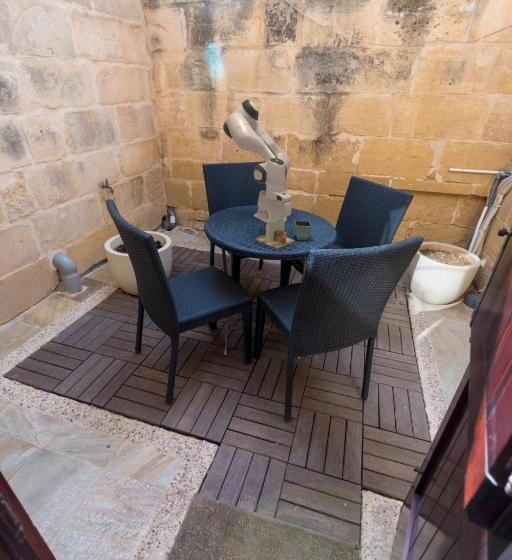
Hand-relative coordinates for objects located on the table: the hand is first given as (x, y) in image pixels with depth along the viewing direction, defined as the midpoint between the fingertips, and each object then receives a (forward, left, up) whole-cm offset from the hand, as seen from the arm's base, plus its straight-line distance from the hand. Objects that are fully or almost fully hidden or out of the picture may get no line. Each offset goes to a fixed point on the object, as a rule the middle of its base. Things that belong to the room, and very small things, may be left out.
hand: (273, 220), depth 165 cm
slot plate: (-1, +3, -12) cm, 12 cm away
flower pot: (+6, +17, -13) cm, 23 cm away
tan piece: (-1, +3, -13) cm, 13 cm away
